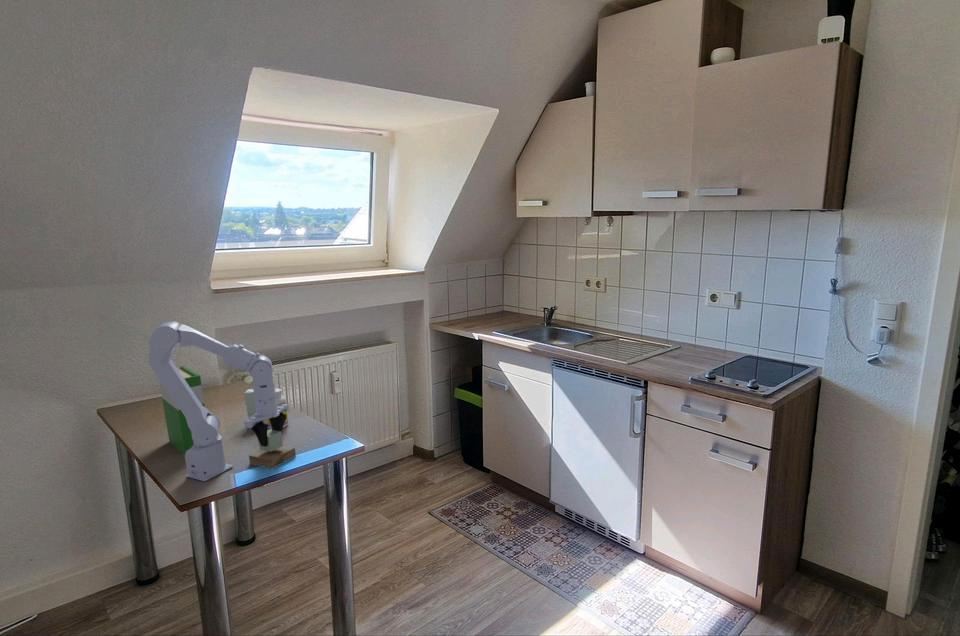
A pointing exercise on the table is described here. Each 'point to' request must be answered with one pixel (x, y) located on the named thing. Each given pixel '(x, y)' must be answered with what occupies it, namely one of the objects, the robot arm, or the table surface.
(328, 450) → the table surface
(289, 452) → the walnut block
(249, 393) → the skincare box
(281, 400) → the supplement bottle
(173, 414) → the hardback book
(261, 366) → the robot arm
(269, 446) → the sage cube
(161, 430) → the table surface
